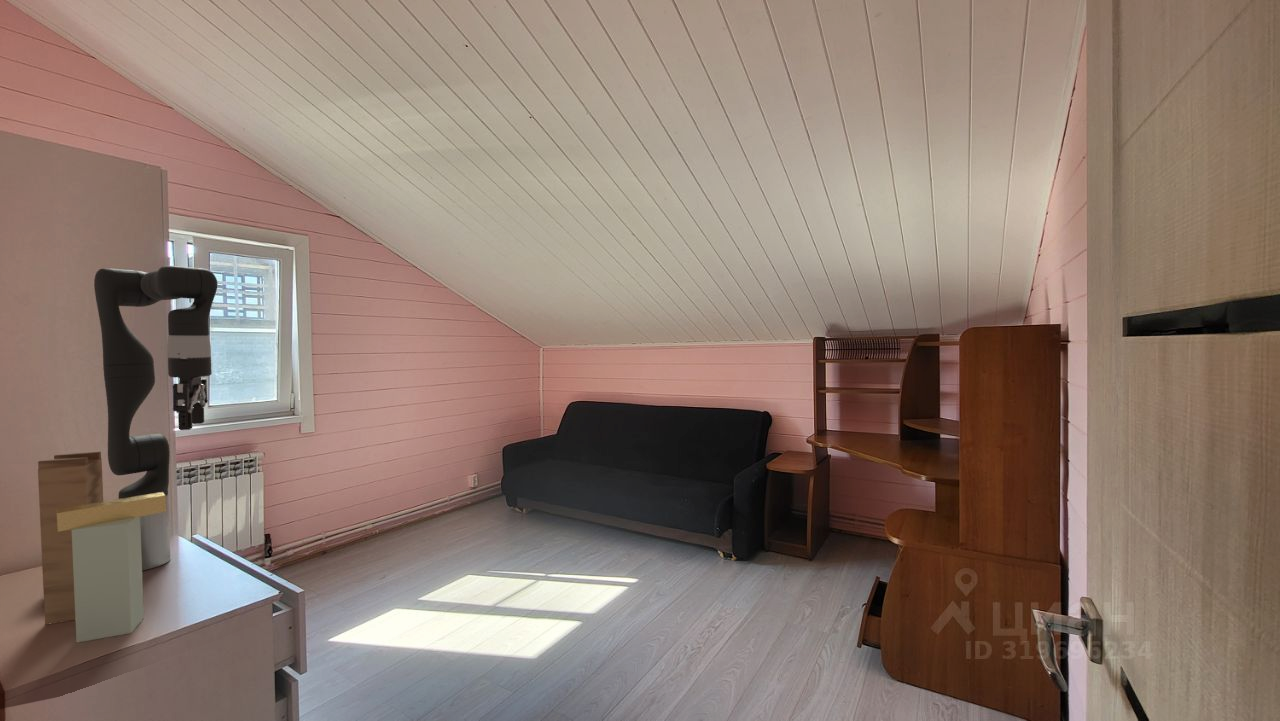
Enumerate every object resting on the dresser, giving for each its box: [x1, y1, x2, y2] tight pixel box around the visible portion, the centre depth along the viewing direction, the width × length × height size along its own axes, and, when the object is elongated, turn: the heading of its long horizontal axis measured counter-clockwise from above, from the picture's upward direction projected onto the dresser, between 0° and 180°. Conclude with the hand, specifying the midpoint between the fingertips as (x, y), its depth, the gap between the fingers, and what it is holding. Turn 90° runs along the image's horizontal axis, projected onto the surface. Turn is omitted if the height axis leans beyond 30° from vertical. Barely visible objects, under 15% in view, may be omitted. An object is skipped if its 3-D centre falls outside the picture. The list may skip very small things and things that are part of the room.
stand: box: [37, 451, 104, 625], centre depth 112 cm, size 7×7×34 cm
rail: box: [57, 492, 166, 532], centre depth 107 cm, size 4×15×4 cm, turn 139°
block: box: [72, 517, 145, 644], centre depth 106 cm, size 6×8×22 cm
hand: (192, 426), depth 121 cm, fingers open, 8 cm apart
